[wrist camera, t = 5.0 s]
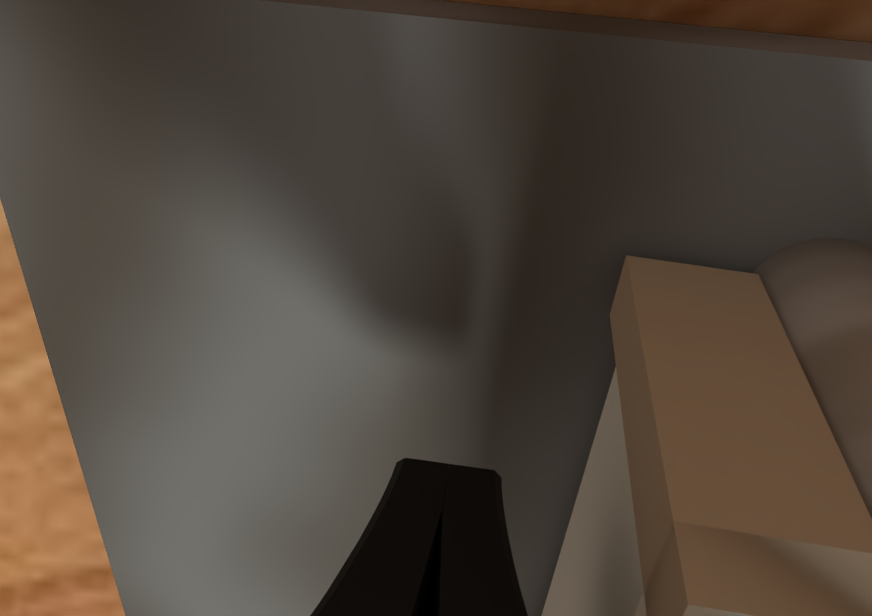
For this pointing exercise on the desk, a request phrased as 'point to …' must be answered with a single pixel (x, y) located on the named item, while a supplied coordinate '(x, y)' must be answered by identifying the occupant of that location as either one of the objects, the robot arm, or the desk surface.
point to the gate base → (396, 255)
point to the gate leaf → (710, 466)
